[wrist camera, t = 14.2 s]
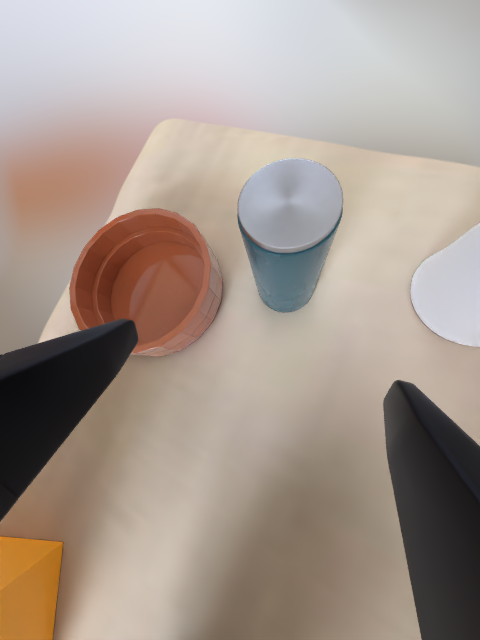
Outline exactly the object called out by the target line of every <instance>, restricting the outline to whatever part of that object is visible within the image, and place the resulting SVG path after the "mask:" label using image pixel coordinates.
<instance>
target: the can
mask: <svg viewBox="0 0 480 640" xmlns="http://www.w3.org/2000/svg"><path fill="white" fill-rule="evenodd" d="M342 211H343V193H342V189H341V186H340V184H339V181H338V180H337V178H336V177H335V176H334V174H333V173H332V172H331V171H330V170H329V169H327V168H326V167H324V166H323V165H321V164H319V163H317V162H314V161H311V160H307V159H299V158H291V159H284V160H279V161H276V162H273V163H271V164H269V165H266V166H265V167H263V168H261V169H260V170H258V171H257V172H256V173H255V174H254V175H253V176H251V177H250V179H249V180H248V181H247V182H246V184H245V185H244V187H243V189H242V191H241V193H240V196H239V200H238V215H237V217H238V224H239V228H240V231H241V234H242V238H243V241H244V244H245V248H246V251H247V254H248V258H249V261H250V265H251V268H252V271H253V275H254V278H255V281H256V285H257V288H258V291H259V295H260V297H261V299H262V301H263V302H264V303H265V304H266V305H267V306H268V307H270V308H271V309H273V310H276V311H279V312H292V311H295V310H298V309H300V308H302V307H303V306H304V305H305V304H306V303H307V302H308V301H309V300H310V298H311V296H312V294H313V291H314V289H315V286H316V284H317V281H318V278H319V276H320V273H321V270H322V268H323V265H324V262H325V260H326V257H327V255H328V252H329V249H330V247H331V244H332V241H333V239H334V236H335V234H336V231H337V228H338V226H339V223H340V220H341V217H342Z"/></svg>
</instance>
